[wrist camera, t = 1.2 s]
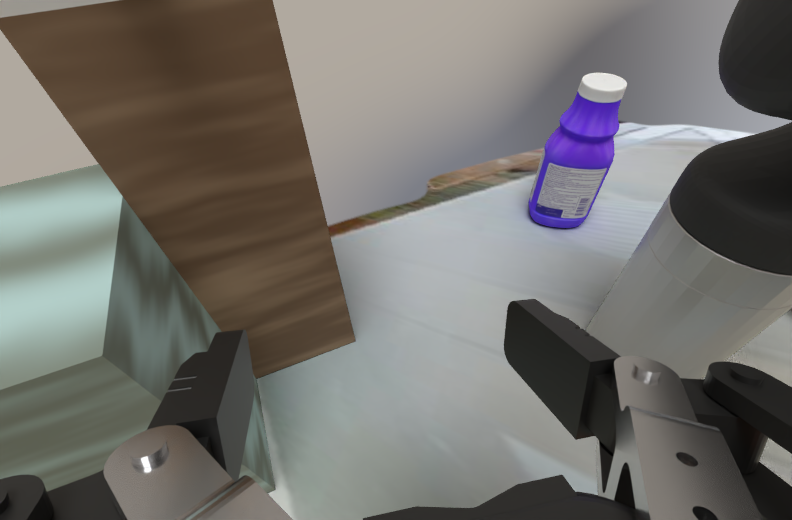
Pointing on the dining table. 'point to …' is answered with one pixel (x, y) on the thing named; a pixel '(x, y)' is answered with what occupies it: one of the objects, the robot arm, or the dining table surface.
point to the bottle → (578, 154)
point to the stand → (156, 227)
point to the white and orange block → (40, 5)
